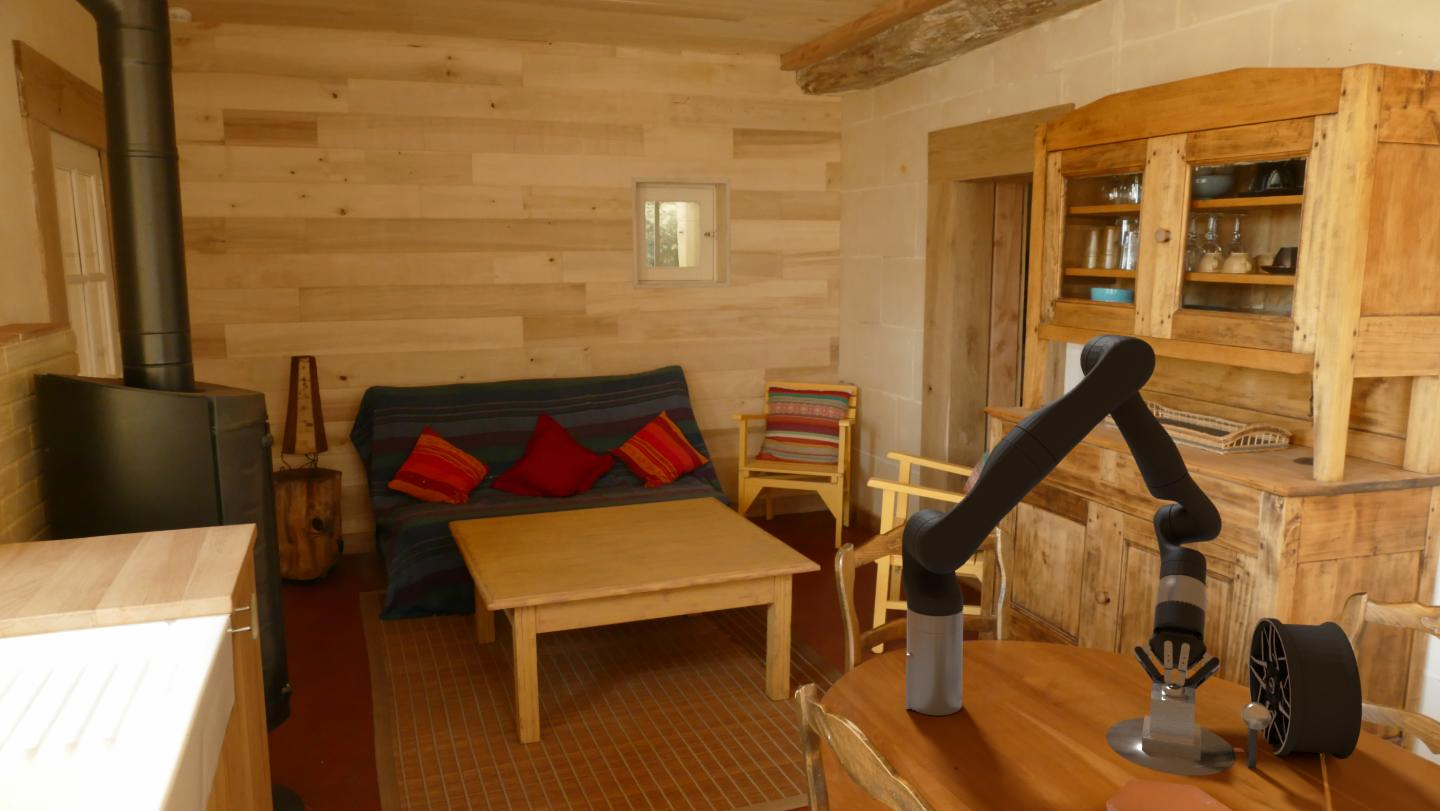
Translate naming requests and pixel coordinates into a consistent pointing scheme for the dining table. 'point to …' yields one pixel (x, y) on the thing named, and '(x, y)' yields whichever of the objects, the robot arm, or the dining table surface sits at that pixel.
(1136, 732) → the turntable
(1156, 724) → the cover
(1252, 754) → the dial indicator post
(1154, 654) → the robot arm
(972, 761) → the dining table surface
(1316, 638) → the wheel rim
